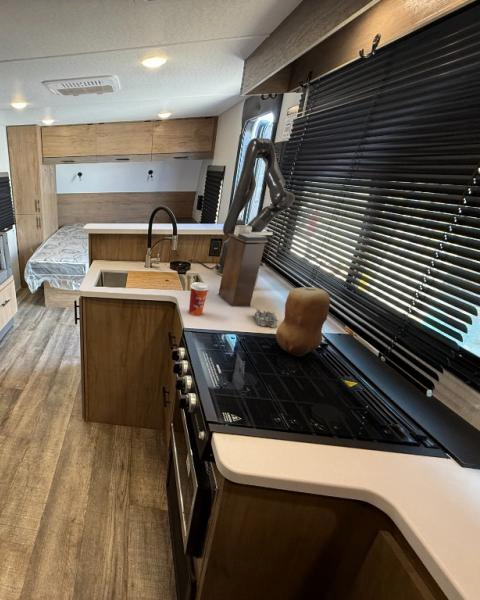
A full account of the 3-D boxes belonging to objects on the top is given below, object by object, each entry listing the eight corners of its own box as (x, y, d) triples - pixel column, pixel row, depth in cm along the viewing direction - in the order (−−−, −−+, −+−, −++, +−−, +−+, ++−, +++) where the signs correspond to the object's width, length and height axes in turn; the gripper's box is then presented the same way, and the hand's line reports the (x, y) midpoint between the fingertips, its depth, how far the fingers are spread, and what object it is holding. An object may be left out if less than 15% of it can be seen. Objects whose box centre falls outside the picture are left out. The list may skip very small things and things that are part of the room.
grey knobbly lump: (252, 315, 139) (254, 307, 137) (271, 317, 136) (274, 309, 135) (257, 325, 129) (259, 317, 128) (277, 328, 127) (279, 319, 125)
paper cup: (195, 318, 136) (200, 289, 131) (183, 311, 142) (187, 283, 137) (208, 314, 139) (213, 285, 134) (195, 308, 146) (199, 280, 140)
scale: (237, 237, 141) (238, 233, 141) (258, 236, 142) (259, 233, 141) (246, 240, 134) (247, 237, 133) (269, 240, 134) (270, 236, 134)
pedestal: (216, 294, 161) (228, 233, 149) (235, 293, 162) (248, 233, 149) (231, 306, 147) (245, 240, 134) (251, 306, 147) (268, 240, 134)
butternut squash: (274, 339, 120) (291, 278, 109) (316, 350, 112) (338, 286, 102) (269, 355, 109) (288, 290, 99) (315, 368, 102) (340, 300, 92)
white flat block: (275, 236, 143) (277, 227, 141) (238, 236, 142) (240, 227, 141) (266, 233, 149) (268, 224, 148) (231, 233, 149) (232, 225, 147)
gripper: (258, 221, 164) (237, 244, 175) (244, 220, 156) (222, 244, 167) (268, 230, 160) (245, 253, 171) (254, 230, 152) (231, 253, 164)
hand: (234, 248), depth 169 cm, fingers open, 8 cm apart
